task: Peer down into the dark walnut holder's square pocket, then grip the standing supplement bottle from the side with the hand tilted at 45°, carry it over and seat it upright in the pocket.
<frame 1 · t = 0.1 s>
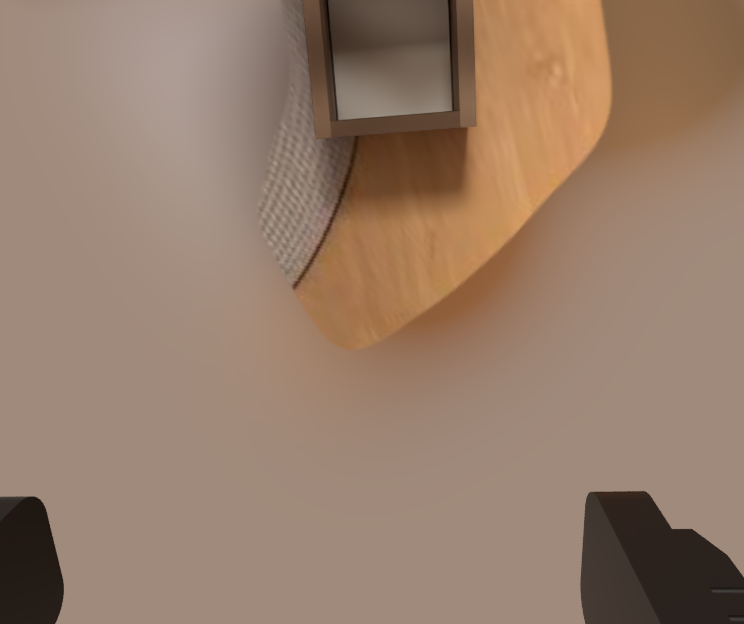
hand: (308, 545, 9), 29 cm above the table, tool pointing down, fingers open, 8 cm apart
holder: (391, 55, 34), on the table
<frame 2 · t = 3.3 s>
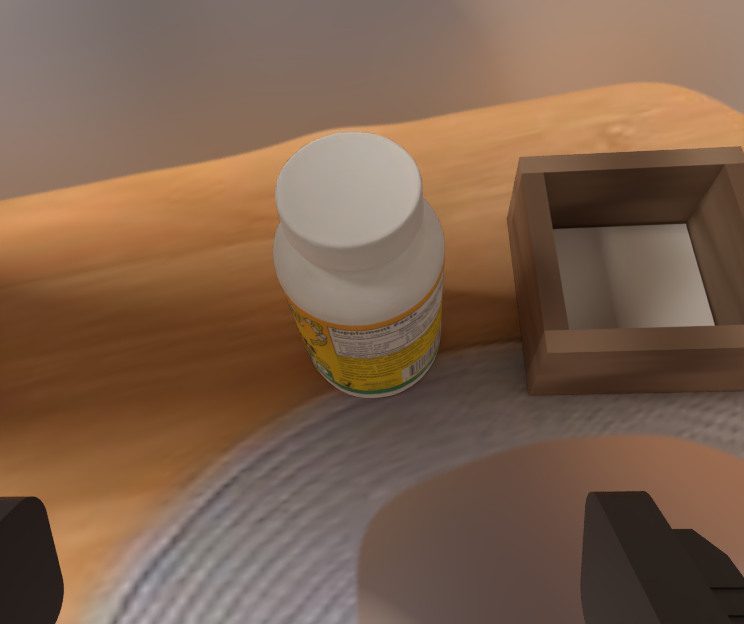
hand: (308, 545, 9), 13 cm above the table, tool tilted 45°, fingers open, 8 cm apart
holder: (619, 297, 25), on the table
supplement bottle: (374, 340, 25), on the table
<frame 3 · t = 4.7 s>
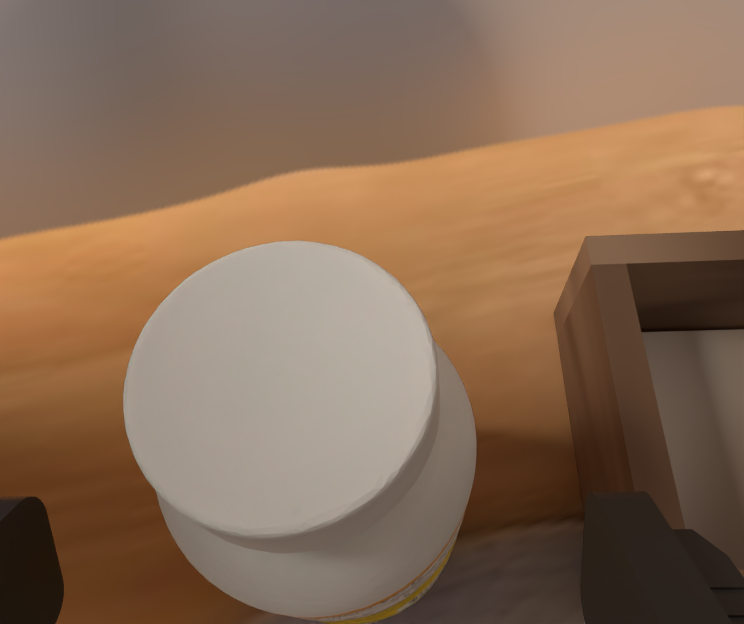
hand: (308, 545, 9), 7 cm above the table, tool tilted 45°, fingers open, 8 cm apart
holder: (733, 446, 16), on the table
supplement bottle: (354, 511, 16), on the table
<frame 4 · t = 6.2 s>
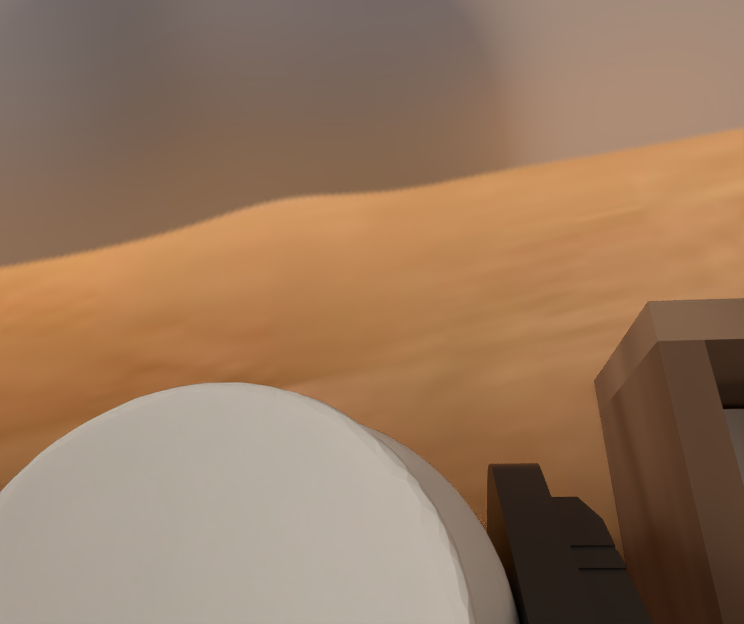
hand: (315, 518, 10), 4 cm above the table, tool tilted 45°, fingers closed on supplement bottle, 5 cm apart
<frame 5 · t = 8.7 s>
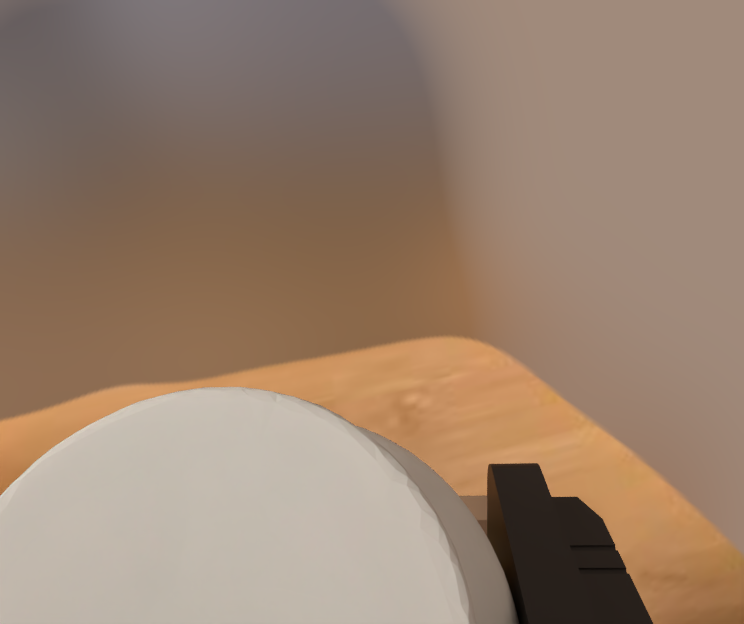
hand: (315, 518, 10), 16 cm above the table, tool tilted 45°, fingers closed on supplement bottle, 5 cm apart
when the fingers open (6 cm above the table, at t = 11.0 s): supplement bottle drops 1 cm, resting on holder.
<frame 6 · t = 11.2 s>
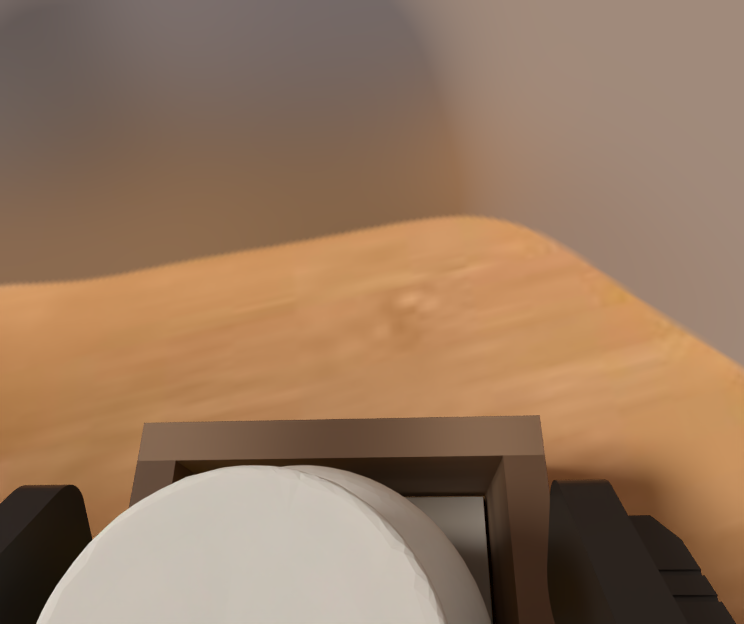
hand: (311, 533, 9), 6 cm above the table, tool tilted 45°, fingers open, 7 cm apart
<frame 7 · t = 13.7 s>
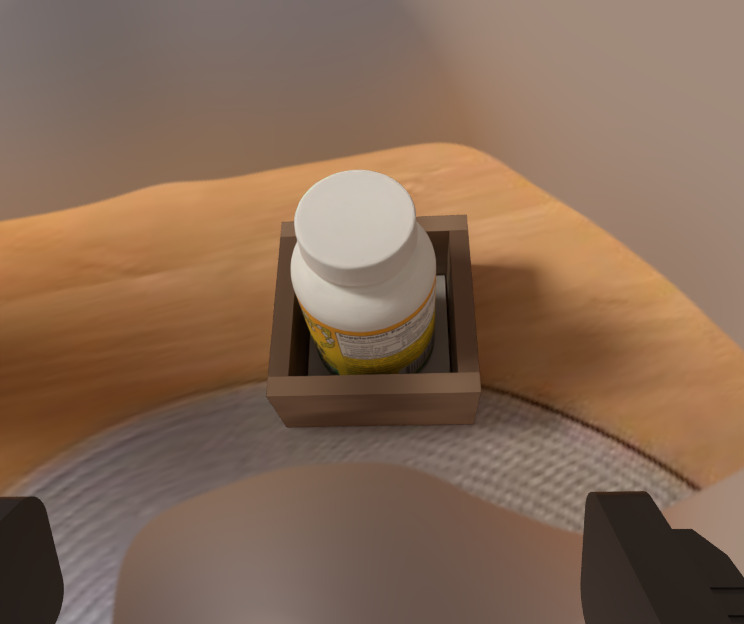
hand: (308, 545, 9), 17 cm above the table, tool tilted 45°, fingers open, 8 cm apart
holder: (379, 340, 29), on the table
supplement bottle: (376, 343, 28), resting on holder
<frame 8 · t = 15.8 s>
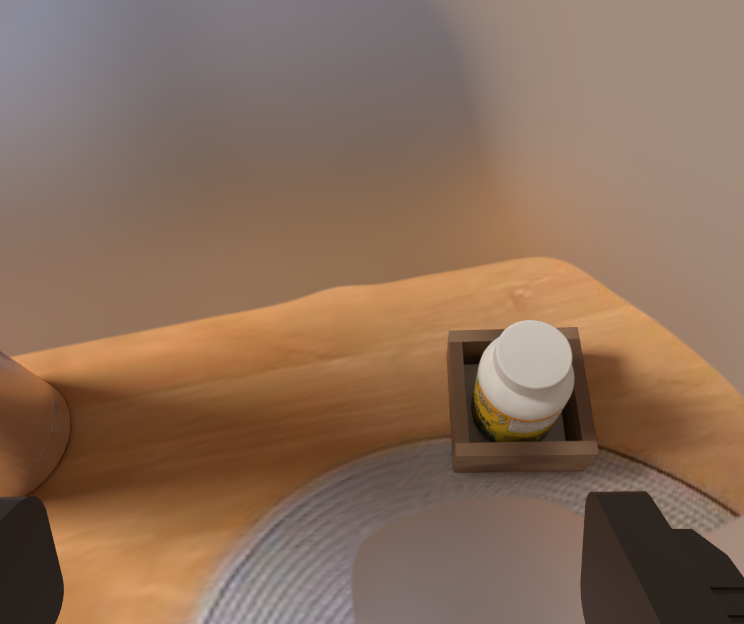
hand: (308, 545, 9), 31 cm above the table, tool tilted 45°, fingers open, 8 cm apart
holder: (511, 409, 41), on the table
supplement bottle: (510, 412, 41), resting on holder
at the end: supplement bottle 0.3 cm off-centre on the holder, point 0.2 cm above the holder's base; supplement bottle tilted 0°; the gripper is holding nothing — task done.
